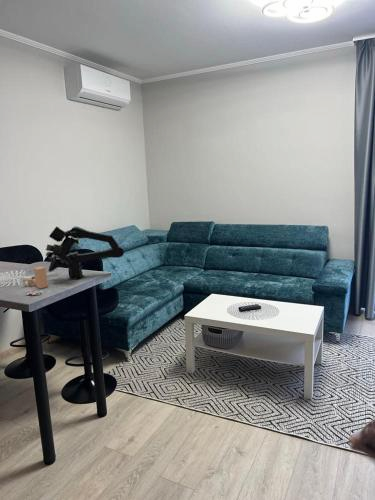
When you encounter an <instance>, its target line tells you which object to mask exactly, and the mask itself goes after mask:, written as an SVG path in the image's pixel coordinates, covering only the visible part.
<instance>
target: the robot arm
mask: <svg viewBox="0 0 375 500" xmlns="http://www.w3.org/2000/svg"><path fill="white" fill-rule="evenodd" d="M48 237H49V238H50V239H52V240H53V241H55V242H56V243H61V244H60V245H59V244H56V243H55V244H53V245H52V244H47V245H46V249H45V251H46V254H45V257H48V259H50V262H51V263H50V267H49V270H48V271H49V272H51V271H53V270H54V269H55V270H56V269H58V268H59V267H61V266H62V265H64V264H65V265H66V266H68V280H80V279H82V278H83V276H84V277H85V274H83V268H82V267H83V266H81V263H82V262H86V261H87V262H88V261H93V260H98V259H105V258H115V259H116V258H122V257H123V256H124V253H125V251H124V248H123V247H122V245H119V244H118V243H117V241H116V239H115V238H114V236H113V235H111V234H105V233H99V232H94V231H90V230H86V229H84V228H82V227H79V226H76V225H75V226H74V227H72V228H70V229H69V230H66V231H65V230H63V229H61V228H60V227H59V226H55V228H54V229H52V231H51V232H50V234H49V236H48ZM79 239H89V240H94V241H100V242H104V243H105V242H106V243H108V245H109V246H110V248H107V249H104V250H98V251H93V252H86V253H78V252H79V251H74V252H71V250H72V248H73V247H74V245H77V246H78V245H79V244H80V242H79Z"/></svg>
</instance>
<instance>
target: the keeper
mask: <svg viewBox="0 0 375 500" xmlns="http://www.w3.org/2000/svg"><path fill="white" fill-rule="evenodd" d="M18 279H19V286H20V288H25V287H27V283H26V282H27V281H26V280H31V279H32V277H25V276H20V277H18Z"/></svg>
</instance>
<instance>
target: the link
mask: <svg viewBox="0 0 375 500" xmlns="http://www.w3.org/2000/svg"><path fill="white" fill-rule="evenodd" d="M34 273H35V279H33V280H32V279H31V280H27V281H26V282H27V283H26V284H28V283H30V284H36V286H35V287H36V288H37V289H43V288H44V289H45V288H47V287H49V283H48V278H47V276H46V269H45V267H37V268H34Z"/></svg>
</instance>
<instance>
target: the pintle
mask: <svg viewBox="0 0 375 500" xmlns="http://www.w3.org/2000/svg"><path fill="white" fill-rule="evenodd" d="M33 279H35V277H32V280H33ZM27 286H28V287H37V286H36V284H30V283H27Z"/></svg>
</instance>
